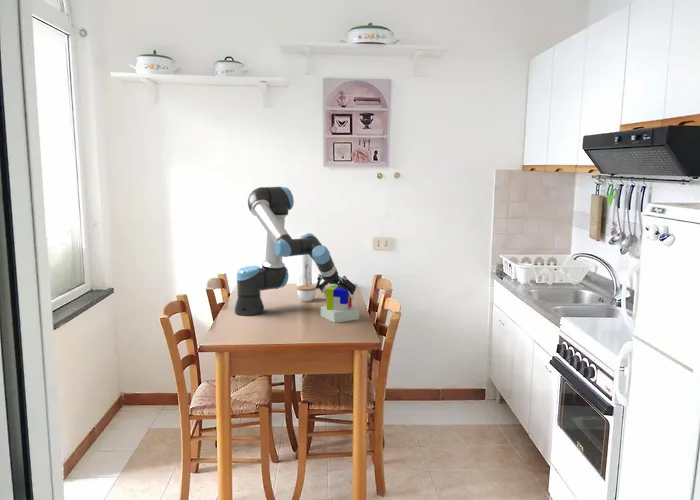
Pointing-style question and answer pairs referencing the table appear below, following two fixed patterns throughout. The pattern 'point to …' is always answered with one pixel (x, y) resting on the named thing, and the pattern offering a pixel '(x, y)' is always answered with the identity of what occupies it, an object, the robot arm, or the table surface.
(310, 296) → the lidded jar
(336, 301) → the puzzle toy
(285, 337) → the table surface
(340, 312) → the pedestal
